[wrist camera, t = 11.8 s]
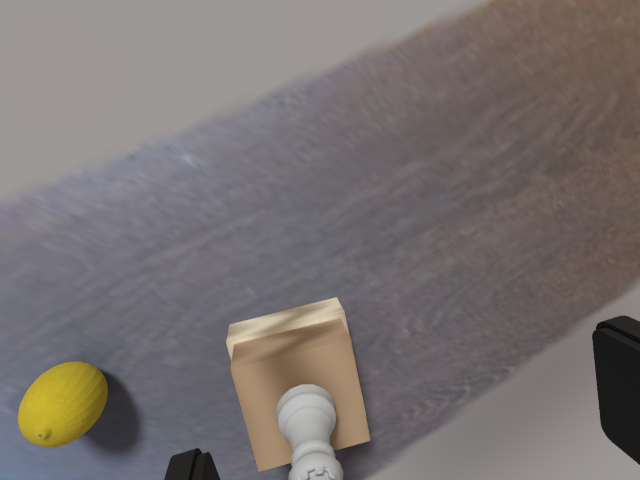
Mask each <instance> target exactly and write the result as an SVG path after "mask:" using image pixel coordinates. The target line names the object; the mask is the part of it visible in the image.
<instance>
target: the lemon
mask: <svg viewBox="0 0 640 480" xmlns="http://www.w3.org/2000/svg"><path fill="white" fill-rule="evenodd" d="M107 396H108V386H107V382H106V379H105V377H104V375H103V374H102V372H101V371H100V370H99V369H98V368H96V367H95V366H93V365H91V364H89V363H86V362H79V361H74V362H66V363H63V364H60V365H57V366H54V367H53V368H51V369H50V370H48V371H46V372H45V373H43V374H42V375H41V376H40V377H39V378H38V379H37V380H36V381H35V382H34V383H33V384H32V385H31V386H30V388H29V389H28V391H27V392H26V394H25V396H24V398H23V400H22V402H21V404H20V408H19V414H18V422H19V428H20V430H21V432H22V434H23V435H24V436H25V437H26V438H27V440H29V441H30V442H32V443H33V444H36V445H38V446H43V447H58V446H62V445H66V444H68V443H70V442H72V441H74V440H76V439H78V438H79V437H80V436H82V435H83V434H84V433H85V432H87V431H88V430H89V429H90V428H91V427H92V426H93V425H94V423H95V422H96V421H97V419H98V418H99V417H100V415H101V413H102V412H103V409H104V407H105V404H106V401H107Z"/></svg>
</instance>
